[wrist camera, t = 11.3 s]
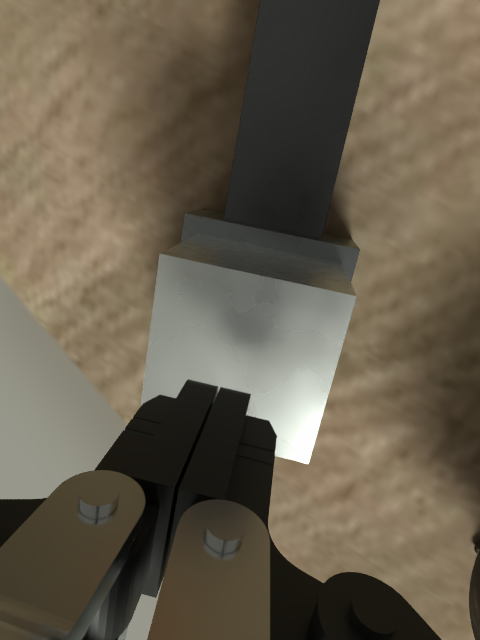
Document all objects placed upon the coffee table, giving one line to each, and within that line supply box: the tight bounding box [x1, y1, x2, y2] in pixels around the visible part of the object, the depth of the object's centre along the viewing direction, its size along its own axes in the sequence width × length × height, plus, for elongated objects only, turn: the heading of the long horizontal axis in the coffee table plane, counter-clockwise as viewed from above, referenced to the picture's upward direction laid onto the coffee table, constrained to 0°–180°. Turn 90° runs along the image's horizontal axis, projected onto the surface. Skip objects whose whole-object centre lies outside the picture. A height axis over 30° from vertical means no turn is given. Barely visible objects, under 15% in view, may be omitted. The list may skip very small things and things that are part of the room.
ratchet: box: [181, 0, 380, 282], centre depth 16 cm, size 18×7×6 cm, turn 170°
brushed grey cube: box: [141, 234, 357, 464], centre depth 16 cm, size 6×6×5 cm
